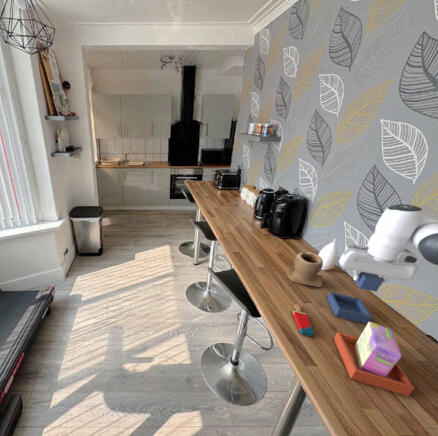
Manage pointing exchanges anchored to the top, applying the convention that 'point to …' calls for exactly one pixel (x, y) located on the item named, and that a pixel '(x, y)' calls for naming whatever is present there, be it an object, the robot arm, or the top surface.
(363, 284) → the slate block
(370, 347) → the box
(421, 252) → the robot arm
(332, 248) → the sauce bottle
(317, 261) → the stone cup
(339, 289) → the top surface
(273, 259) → the top surface
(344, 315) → the slate bin
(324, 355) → the top surface
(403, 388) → the terracotta bin
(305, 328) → the popsicle
